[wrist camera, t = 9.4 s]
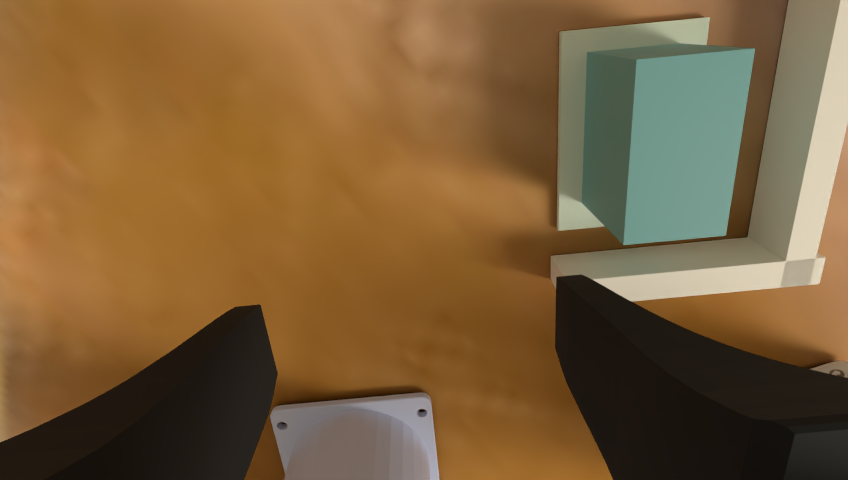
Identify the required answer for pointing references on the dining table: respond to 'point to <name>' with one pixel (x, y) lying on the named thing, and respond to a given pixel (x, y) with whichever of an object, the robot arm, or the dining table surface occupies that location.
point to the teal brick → (664, 139)
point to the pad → (573, 98)
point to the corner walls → (760, 182)
